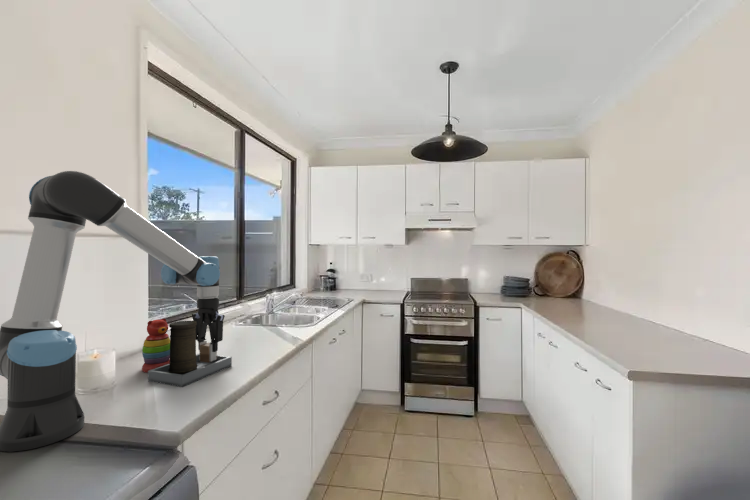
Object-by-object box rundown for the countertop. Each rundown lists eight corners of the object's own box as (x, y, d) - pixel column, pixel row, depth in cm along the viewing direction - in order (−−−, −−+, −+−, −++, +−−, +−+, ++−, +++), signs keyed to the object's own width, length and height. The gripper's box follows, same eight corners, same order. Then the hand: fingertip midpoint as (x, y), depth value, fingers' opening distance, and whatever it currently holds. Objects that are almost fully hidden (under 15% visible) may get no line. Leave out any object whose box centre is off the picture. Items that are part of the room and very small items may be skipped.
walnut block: (208, 362, 129) (208, 346, 129) (199, 361, 130) (199, 345, 130) (216, 359, 132) (216, 343, 132) (208, 358, 134) (208, 342, 134)
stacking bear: (146, 373, 124) (147, 323, 124) (135, 368, 130) (136, 320, 130) (178, 366, 132) (179, 319, 133) (167, 361, 138) (167, 316, 139)
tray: (182, 387, 111) (182, 376, 112) (147, 381, 116) (147, 370, 116) (231, 366, 132) (231, 356, 132) (200, 362, 137) (200, 353, 137)
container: (202, 370, 125) (203, 320, 125) (186, 379, 116) (187, 325, 116) (179, 369, 125) (179, 319, 126) (161, 378, 117) (161, 324, 117)
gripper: (233, 297, 132) (233, 359, 132) (198, 295, 138) (198, 354, 137) (218, 299, 125) (218, 365, 125) (182, 297, 130) (182, 360, 130)
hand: (207, 359), depth 131 cm, fingers closed on walnut block, 4 cm apart
